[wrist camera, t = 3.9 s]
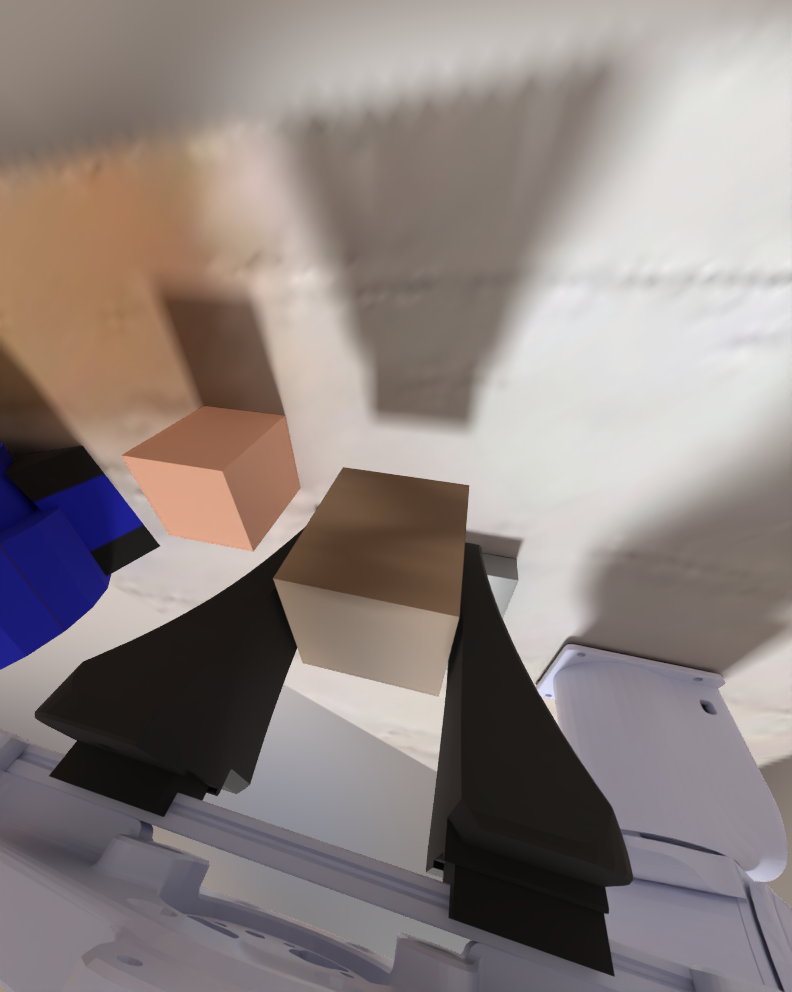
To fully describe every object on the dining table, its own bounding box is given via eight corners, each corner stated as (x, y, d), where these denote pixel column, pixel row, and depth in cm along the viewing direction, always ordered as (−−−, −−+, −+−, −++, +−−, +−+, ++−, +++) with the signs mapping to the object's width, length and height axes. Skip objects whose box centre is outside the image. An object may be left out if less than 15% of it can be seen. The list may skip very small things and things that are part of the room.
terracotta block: (285, 415, 16) (222, 471, 12) (300, 487, 19) (253, 551, 15) (204, 405, 17) (121, 455, 13) (231, 476, 20) (168, 535, 16)
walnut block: (469, 485, 11) (459, 617, 7) (452, 569, 14) (438, 696, 10) (343, 467, 12) (273, 578, 8) (351, 551, 15) (302, 662, 11)
